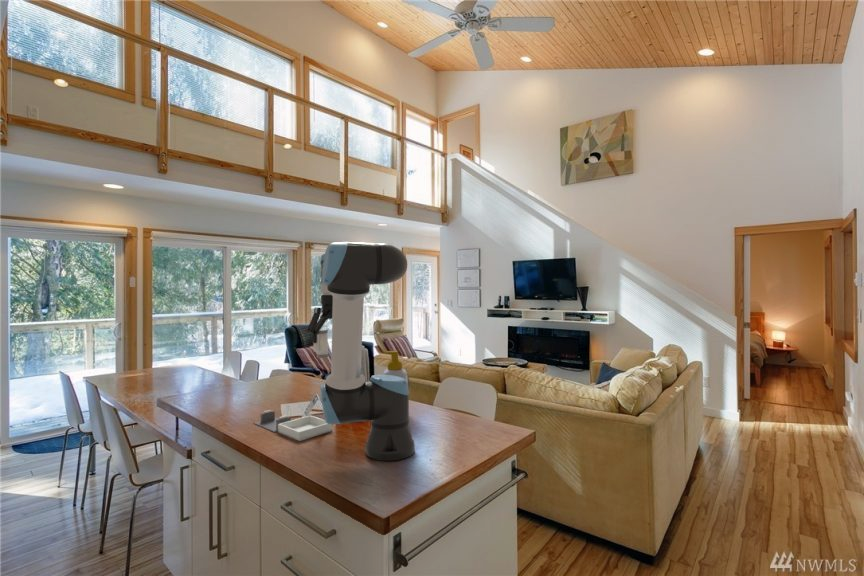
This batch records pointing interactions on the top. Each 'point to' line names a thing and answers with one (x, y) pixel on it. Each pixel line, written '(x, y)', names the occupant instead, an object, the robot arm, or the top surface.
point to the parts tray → (304, 428)
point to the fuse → (323, 344)
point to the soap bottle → (395, 366)
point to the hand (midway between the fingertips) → (331, 349)
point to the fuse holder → (271, 420)
